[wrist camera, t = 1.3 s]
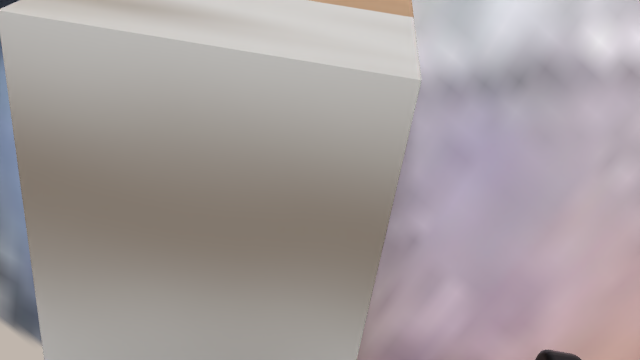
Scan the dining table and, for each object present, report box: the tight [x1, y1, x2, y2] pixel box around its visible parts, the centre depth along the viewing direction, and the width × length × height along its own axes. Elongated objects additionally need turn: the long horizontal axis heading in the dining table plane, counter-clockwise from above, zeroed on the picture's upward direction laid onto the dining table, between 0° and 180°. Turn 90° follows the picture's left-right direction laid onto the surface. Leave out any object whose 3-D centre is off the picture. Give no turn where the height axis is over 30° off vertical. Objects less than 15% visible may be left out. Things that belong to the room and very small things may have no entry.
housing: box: [0, 0, 421, 360], centre depth 11 cm, size 6×5×6 cm
